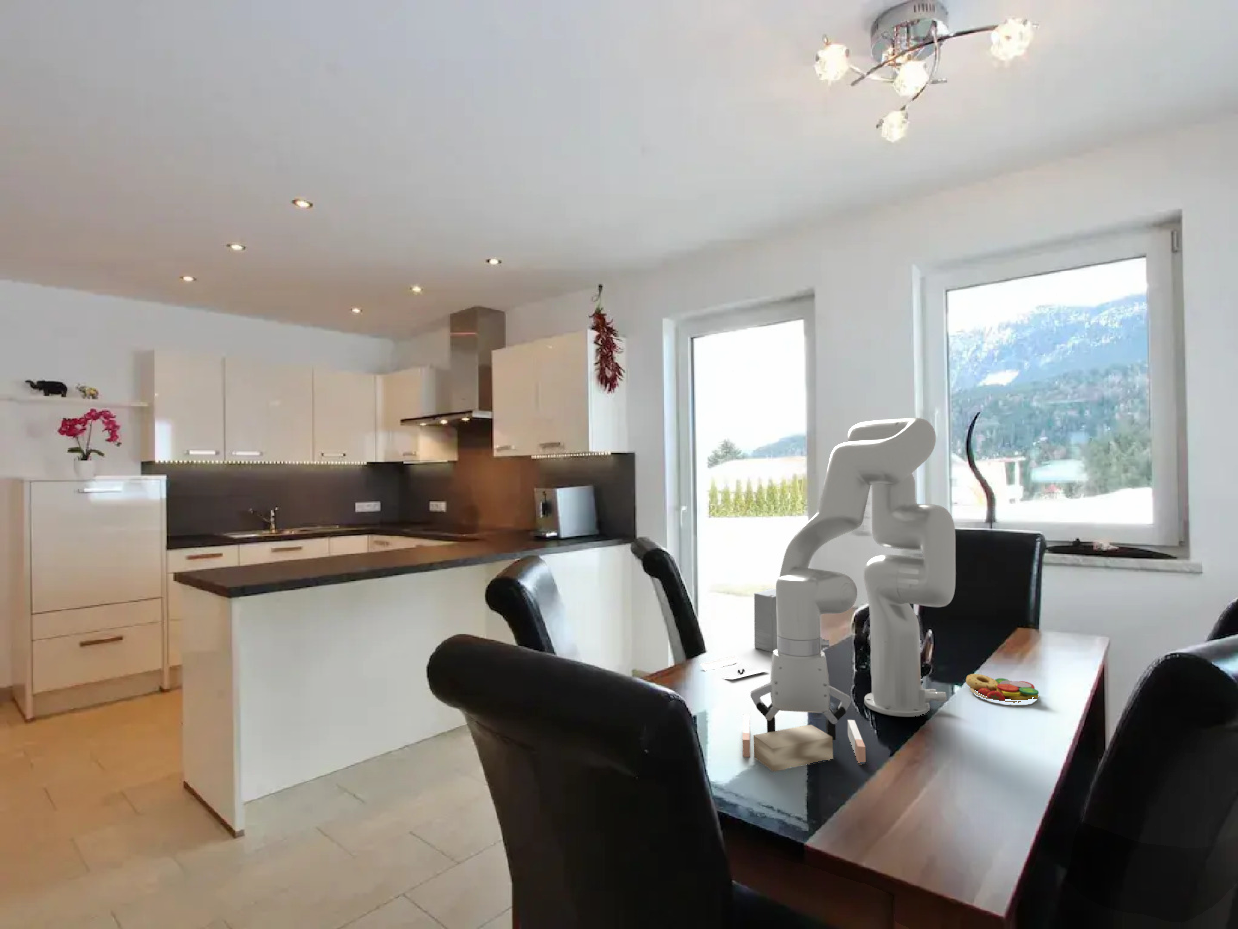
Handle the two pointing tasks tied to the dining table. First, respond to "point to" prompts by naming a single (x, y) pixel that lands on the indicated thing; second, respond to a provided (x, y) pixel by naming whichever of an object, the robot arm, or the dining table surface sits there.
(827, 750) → the birch block
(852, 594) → the robot arm
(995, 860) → the dining table surface
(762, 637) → the skincare box
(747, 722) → the walled lane
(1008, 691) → the toy food set
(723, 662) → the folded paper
